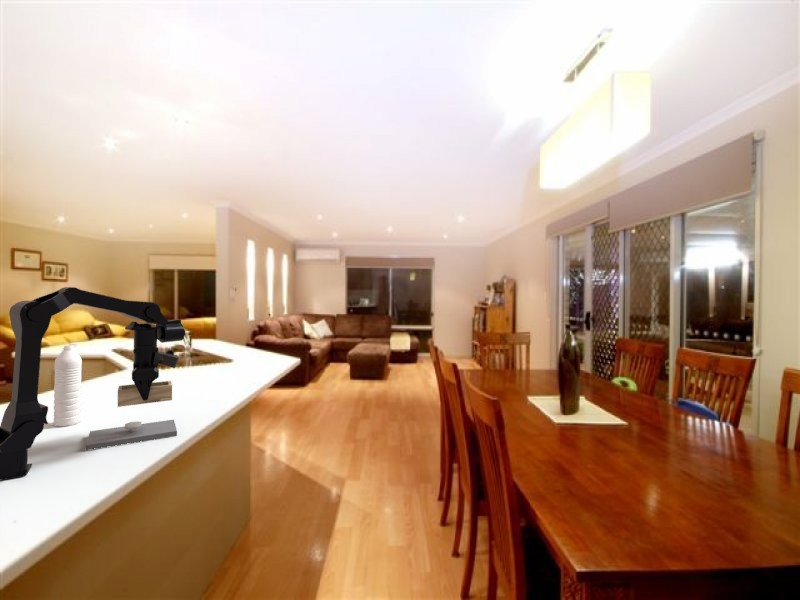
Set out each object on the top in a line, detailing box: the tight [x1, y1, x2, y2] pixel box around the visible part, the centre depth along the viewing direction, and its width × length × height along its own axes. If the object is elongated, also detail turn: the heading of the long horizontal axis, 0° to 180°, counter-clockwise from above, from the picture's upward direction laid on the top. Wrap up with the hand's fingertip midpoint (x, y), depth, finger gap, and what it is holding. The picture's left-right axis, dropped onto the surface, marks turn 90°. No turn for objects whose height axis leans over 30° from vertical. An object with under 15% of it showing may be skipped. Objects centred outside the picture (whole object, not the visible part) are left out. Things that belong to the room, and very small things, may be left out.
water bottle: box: [53, 342, 83, 428], centre depth 122 cm, size 9×6×25 cm
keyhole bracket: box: [117, 380, 173, 408], centre depth 113 cm, size 6×13×4 cm, turn 124°
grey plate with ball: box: [84, 419, 178, 451], centre depth 112 cm, size 12×21×4 cm, turn 124°
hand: (145, 397), depth 113 cm, fingers closed on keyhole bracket, 6 cm apart
